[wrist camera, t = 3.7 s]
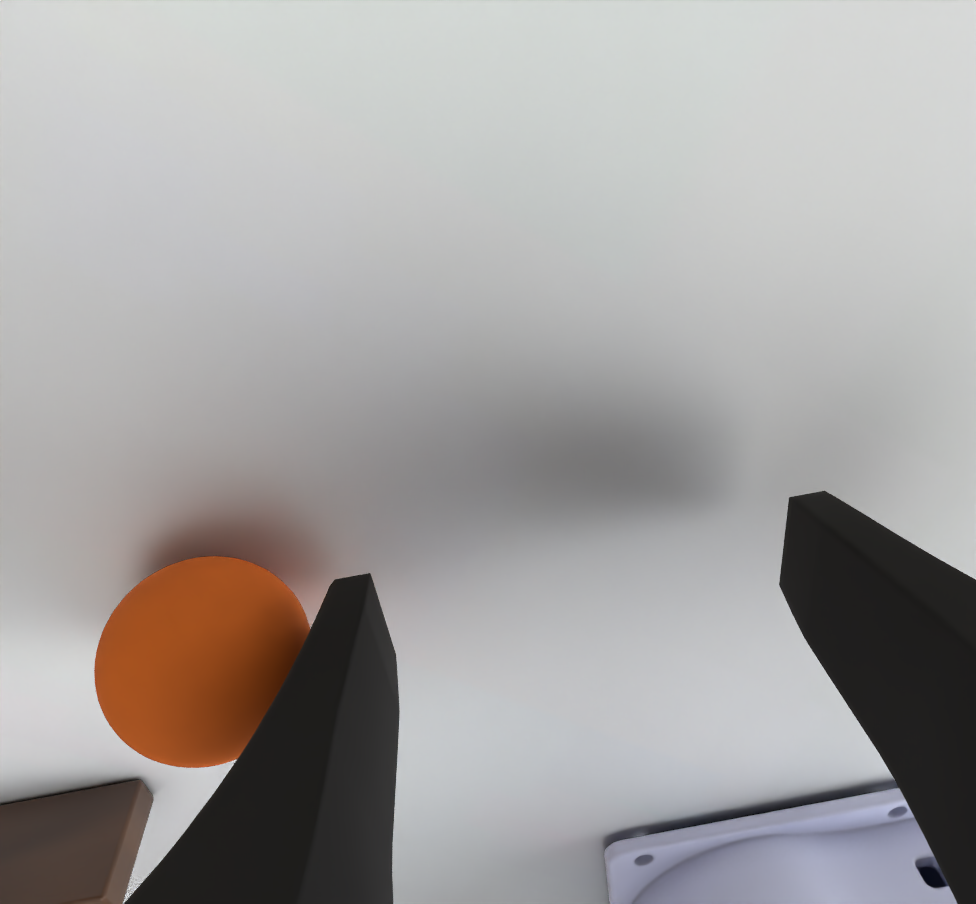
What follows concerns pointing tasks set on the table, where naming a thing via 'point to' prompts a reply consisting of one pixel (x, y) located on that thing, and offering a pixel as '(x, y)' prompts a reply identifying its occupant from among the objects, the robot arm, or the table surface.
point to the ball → (197, 659)
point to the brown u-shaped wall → (72, 845)
